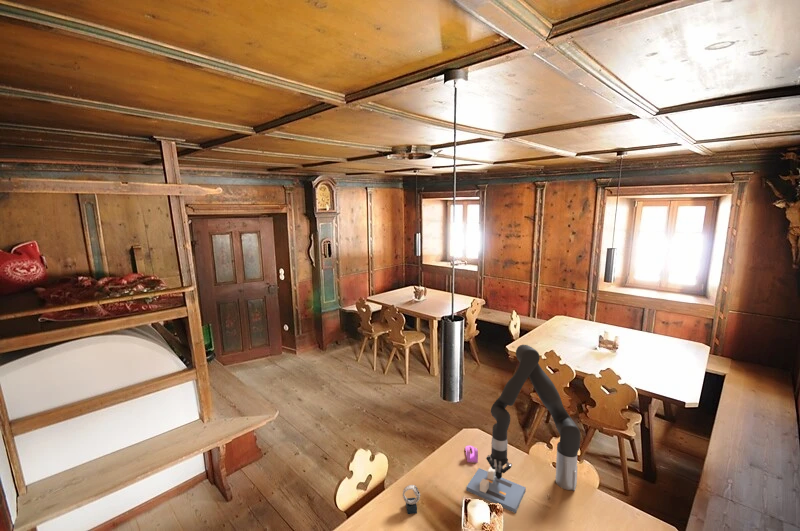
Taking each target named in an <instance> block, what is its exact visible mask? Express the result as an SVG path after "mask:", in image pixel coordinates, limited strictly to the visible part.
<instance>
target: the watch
mask: <svg viewBox="0 0 800 531" xmlns="http://www.w3.org/2000/svg"><path fill="white" fill-rule="evenodd" d="M409 490H412V491H413V494H414V495H415V497H410V498H409V497H407V496H406V495H405V494H406V492H408V491H409ZM402 498H403V501H404V502H405V508H406V513H407V515H413V514H418V505H417V504H418V502H419V500H420V499H421V493H420V490H419V489H418V486H416V484H415V485H414V484H409V485H407V486H405V487H404V488H403V491H402Z"/></svg>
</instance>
